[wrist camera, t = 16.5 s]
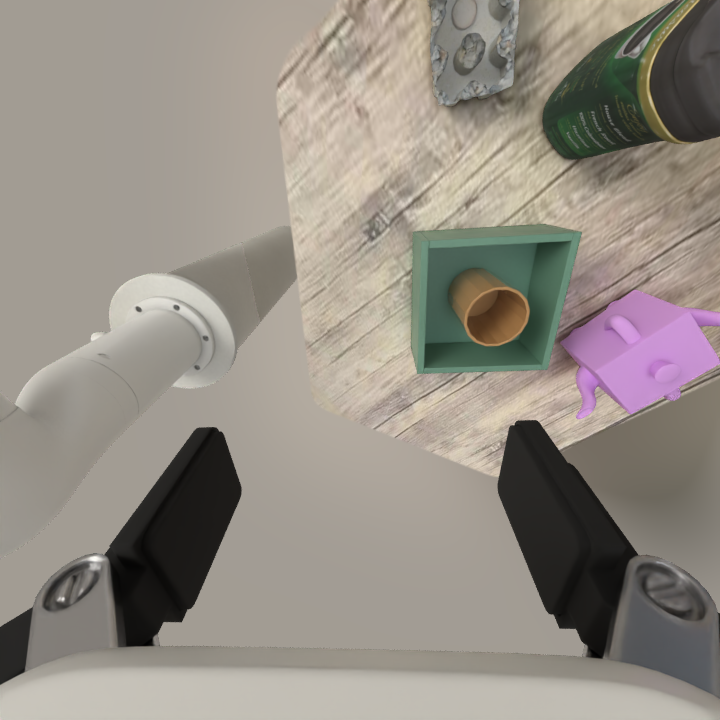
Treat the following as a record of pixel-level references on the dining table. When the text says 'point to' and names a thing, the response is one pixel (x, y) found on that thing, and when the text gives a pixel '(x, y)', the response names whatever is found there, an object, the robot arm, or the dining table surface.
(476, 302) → the paper cup
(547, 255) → the bin
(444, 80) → the egg carton
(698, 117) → the coffee jar
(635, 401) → the teapot
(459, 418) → the dining table surface
